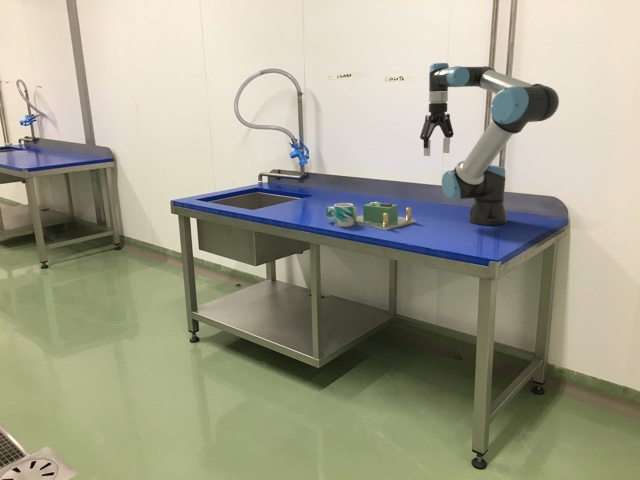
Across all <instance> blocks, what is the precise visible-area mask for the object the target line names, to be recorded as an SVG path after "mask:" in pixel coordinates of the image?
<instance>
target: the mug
mask: <svg viewBox="0 0 640 480" xmlns="http://www.w3.org/2000/svg"><path fill="white" fill-rule="evenodd" d="M333 205H334V206H326V209H325V211H326V220H331V221H332V220H333V221H334V226H336V227H342V228H344V227H345V228H346V227H351V226H354V225H355V223H353V207H354V204H353V203H350V202H339V203H338V202H337V203H334V204H333Z"/></svg>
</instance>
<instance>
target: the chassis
mask: <svg viewBox="0 0 640 480" xmlns="http://www.w3.org/2000/svg"><path fill="white" fill-rule="evenodd" d="M376 202H377V203H380V201H376ZM405 210H406V211H405V216H406V217H404V216H399V215H398V219H396V220H394V221H392V222H389V223H388V213H383V222H378V221H371V220H364V219H363V214H361V215H358V216H357V206H353V224H357V225H362V226H366V227H369V228H374V229H377V230H383V231H389V230H392V229H393V230H394V229H397V228H400V227H405V226H407V225H410V224H415V223H416V219H414V218H412V207H406V209H405Z"/></svg>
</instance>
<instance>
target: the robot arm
mask: <svg viewBox="0 0 640 480" xmlns="http://www.w3.org/2000/svg"><path fill="white" fill-rule="evenodd" d="M428 73H429V74H428V75H429V78H428V79H429V80H428V81H429V82H428V84H429V85H428V87H429V90H428V91H429V93H428V94H429V95H428V102H429V103H428V113H430V114H427V115H425V118H424V124H423V127H422V129H421V132H420V136H419V138H420V139H421V140H422V141H423V156H424V157H431V142H432V141H431V139H430V138H431V136H432V134H433V133H434V130H435V128H437V126H439V128H440V129H441V131H442V134H443V135H444V137H443V139H442V140H443V141H442V143H443V144H442V145H443V146H442V153H443V154H450V145H451V138H453V136H454V129H453V126H452V123H451V122H452V121H451V114H450V113H447V112H448V101H449V94H448V93H449V92H448V91H449V88H461V87H462V88H463V87H464V88H465V87H467V88H468V87H477V88H478V87H479V88H480V89H483V90H485V91H488V92H491V93H493V94H495V95H494V97H493V98H492V101H491V107H490V113H491V114H490V117H491V122H490V123H489V125H488V126H487V128H486V129H485V130H484V131H483V133H482V135H481V136H480V138H479V139H478V141H477V142H476V143H475V145H474V146H473V148H472V149H471V151H470V153H469V154H468V155H467V157H466V158H465V160H462V161H459V162H458V163H457V164H456V166H455V167H454V169H453V170H447V171H444V173H443V174H442V178H441V187H442V192H443V194H444V195H445V197H446V198H447V199H449V200H451V201H460V200H461V201H462V200H469V199H473V204H472V207H471V209H470V211H469V213H468V221H469V222H470V223H473V224H477V225H484V226H497V225H498V226H499V225H504V224H506V223H507V222H508V215H507V211H506V207H505V203H504V201H505V188H506V186H505V185H506V178H507V177H506V169H505V168H504V167H503V166H499V165H491V164H492V163H493V161H494V160H495V159H496V158H497V156H498V155H499V153H500V152H501V151H502V149H503V148H504V147H505V145H506V144H507V143H508V142H509V140H510V139H511V138H512V136H513V135H516V134H519V133H521V131H522V130H524V127H525V126H526V125H528V123H534V122H535V123H537V122H543V121H546V120H548V119H550V118H551V117H552V116H554V115H555V113H556V112H557V110H558V109H559V106H560V105H559V104H560V101H559V100H560V98H559V94H558V92H557V91H556V90H555V89H554V88H552V87H550V86H548V85H544V84H541V83H533V84H532V83H529V82H525V81H523V80H520V79H517V78H516V77H512V76H509V75H507V74H504V73H502V72H498V71H496V69H495V67H493V66H485V65H483V66H462V65H461V66H458V65H457V66H456V65H455V66H453V67H450V66H449V63H447V62H438V63H437V62H436V63H434V62H433V63H432V64H430V66H429V72H428Z"/></svg>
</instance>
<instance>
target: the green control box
mask: <svg viewBox="0 0 640 480" xmlns="http://www.w3.org/2000/svg"><path fill="white" fill-rule="evenodd" d="M377 202H378V201H372V202H370V203H366V204H364V205H362V211H363V214H362V215H363V219H364V220H371V221H378V222H383V213H388V223H389V222H392V221H394V220H396V219H398V216H399V204H394V203H393V204H392V203H390V202H379V203H377Z"/></svg>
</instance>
